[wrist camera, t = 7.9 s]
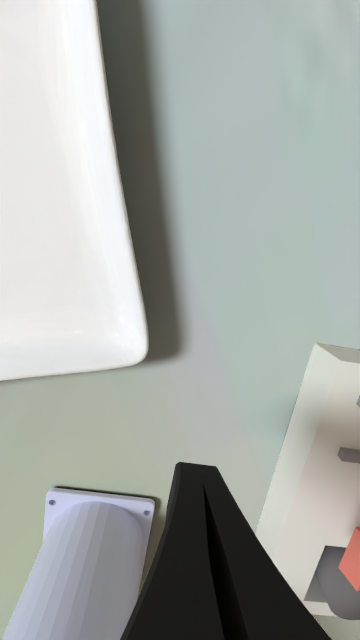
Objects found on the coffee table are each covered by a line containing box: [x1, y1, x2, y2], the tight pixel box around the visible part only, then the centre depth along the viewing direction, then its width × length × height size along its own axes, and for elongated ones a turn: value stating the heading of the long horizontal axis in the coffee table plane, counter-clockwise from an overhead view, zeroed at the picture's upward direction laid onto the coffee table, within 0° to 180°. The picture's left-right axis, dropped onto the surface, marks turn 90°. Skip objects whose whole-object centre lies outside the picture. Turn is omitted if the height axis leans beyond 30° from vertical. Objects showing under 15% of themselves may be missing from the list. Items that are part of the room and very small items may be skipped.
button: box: [314, 545, 360, 620], centre depth 21 cm, size 4×4×3 cm
